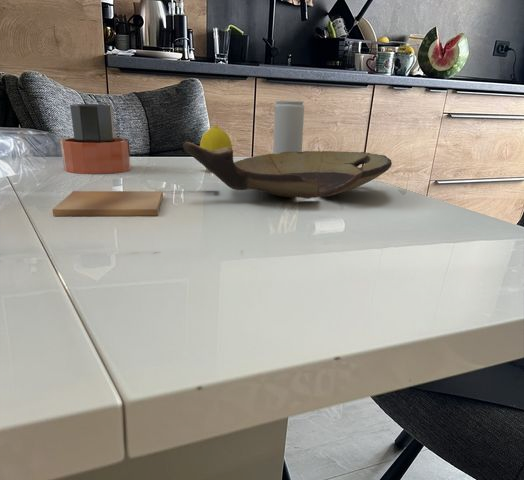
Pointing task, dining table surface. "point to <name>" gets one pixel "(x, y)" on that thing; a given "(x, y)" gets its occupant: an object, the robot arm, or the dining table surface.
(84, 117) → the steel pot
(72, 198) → the cork trivet
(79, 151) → the terracotta pot
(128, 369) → the dining table surface
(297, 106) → the beverage can
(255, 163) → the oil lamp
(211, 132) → the lemon
